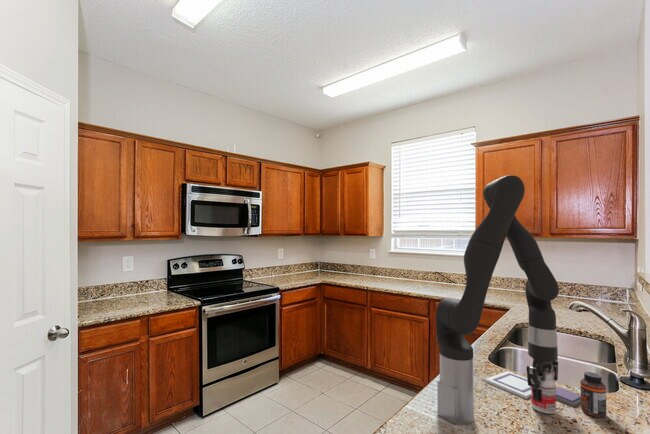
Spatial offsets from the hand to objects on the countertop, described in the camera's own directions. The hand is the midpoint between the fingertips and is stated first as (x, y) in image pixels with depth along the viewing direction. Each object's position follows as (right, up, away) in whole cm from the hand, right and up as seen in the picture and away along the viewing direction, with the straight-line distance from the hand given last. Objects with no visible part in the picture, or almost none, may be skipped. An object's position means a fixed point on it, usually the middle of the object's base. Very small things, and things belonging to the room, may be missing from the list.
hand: (543, 398), depth 98 cm
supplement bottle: (+14, -4, -1) cm, 15 cm away
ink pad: (+12, -4, +7) cm, 15 cm away
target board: (+1, -4, +16) cm, 16 cm away
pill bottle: (0, -3, 0) cm, 3 cm away
